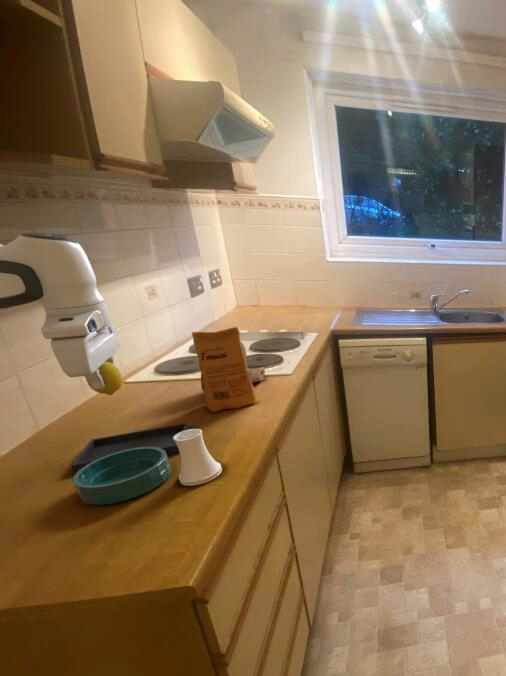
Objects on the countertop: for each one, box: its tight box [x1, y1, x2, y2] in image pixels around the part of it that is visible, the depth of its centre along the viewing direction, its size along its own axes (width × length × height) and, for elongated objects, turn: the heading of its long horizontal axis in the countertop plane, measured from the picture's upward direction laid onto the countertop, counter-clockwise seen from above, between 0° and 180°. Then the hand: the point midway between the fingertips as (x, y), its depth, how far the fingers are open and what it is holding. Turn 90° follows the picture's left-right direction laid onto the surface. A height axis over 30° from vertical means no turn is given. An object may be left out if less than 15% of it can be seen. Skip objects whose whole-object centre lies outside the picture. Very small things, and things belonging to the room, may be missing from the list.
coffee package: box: [191, 326, 257, 413], centre depth 121 cm, size 10×12×22 cm
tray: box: [70, 422, 192, 474], centre depth 102 cm, size 19×12×2 cm, turn 116°
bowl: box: [72, 447, 173, 506], centre depth 89 cm, size 15×15×4 cm
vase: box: [173, 428, 223, 487], centre depth 91 cm, size 8×8×10 cm
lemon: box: [85, 362, 123, 396], centre depth 92 cm, size 6×6×8 cm
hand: (105, 381), depth 92 cm, fingers closed on lemon, 5 cm apart
